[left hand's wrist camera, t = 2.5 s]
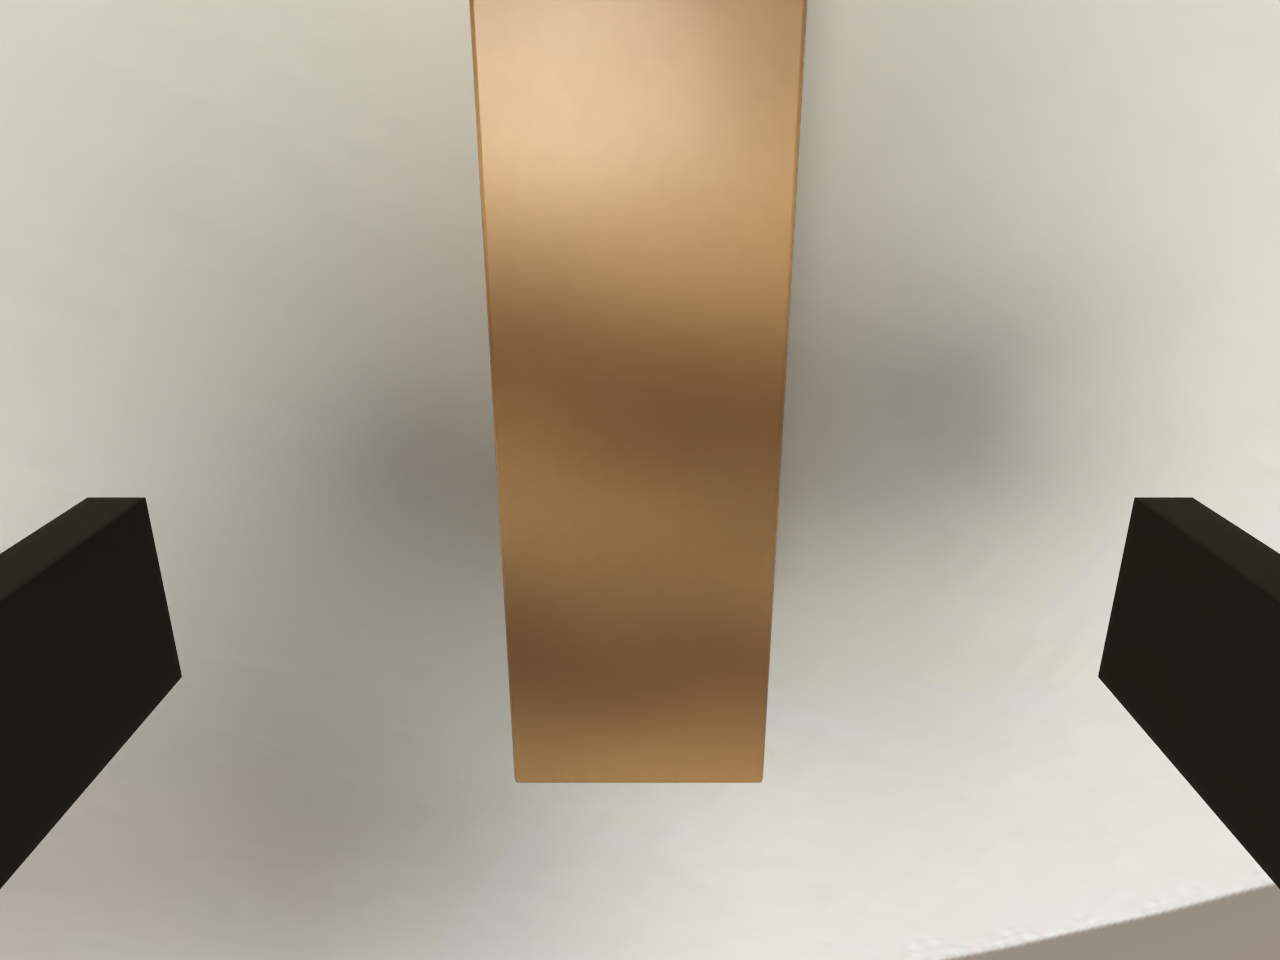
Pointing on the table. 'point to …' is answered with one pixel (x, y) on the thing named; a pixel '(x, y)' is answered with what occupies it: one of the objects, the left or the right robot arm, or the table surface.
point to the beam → (638, 370)
